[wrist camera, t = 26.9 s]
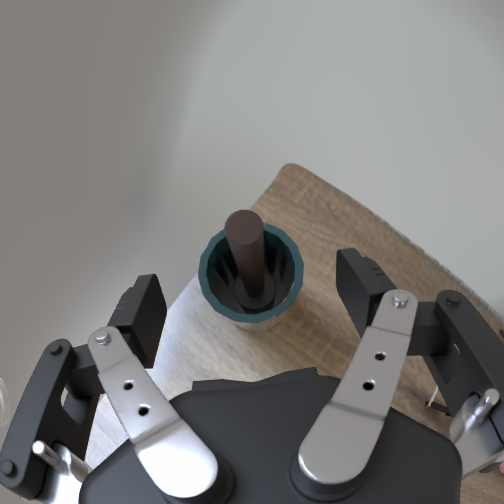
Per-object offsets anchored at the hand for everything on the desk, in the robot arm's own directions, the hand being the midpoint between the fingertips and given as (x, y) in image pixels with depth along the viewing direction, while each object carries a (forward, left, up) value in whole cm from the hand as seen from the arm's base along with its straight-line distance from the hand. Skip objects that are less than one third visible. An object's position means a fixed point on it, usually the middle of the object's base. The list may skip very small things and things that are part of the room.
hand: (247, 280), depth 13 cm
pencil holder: (-2, +3, -24) cm, 24 cm away
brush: (-2, +3, -23) cm, 24 cm away
